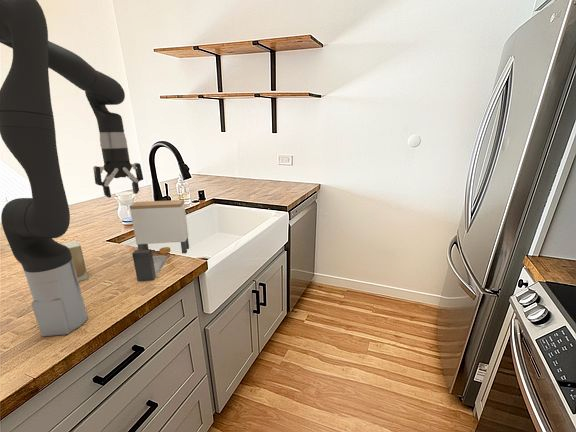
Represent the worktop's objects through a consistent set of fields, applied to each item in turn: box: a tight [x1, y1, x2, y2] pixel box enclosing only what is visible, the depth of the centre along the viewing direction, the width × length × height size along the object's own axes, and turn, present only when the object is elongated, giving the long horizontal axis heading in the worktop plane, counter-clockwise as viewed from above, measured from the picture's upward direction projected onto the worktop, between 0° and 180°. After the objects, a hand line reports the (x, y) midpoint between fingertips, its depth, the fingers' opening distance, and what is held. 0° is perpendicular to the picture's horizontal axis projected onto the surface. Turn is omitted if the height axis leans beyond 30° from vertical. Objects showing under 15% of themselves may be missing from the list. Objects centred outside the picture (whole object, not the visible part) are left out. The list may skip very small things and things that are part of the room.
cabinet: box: [129, 199, 190, 254], centre depth 114 cm, size 6×18×20 cm, turn 97°
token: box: [158, 246, 171, 255], centre depth 117 cm, size 4×4×1 cm
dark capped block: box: [131, 248, 168, 282], centre depth 102 cm, size 16×5×10 cm, turn 7°
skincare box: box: [61, 239, 89, 283], centre depth 96 cm, size 6×4×12 cm
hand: (122, 195), depth 101 cm, fingers open, 8 cm apart
